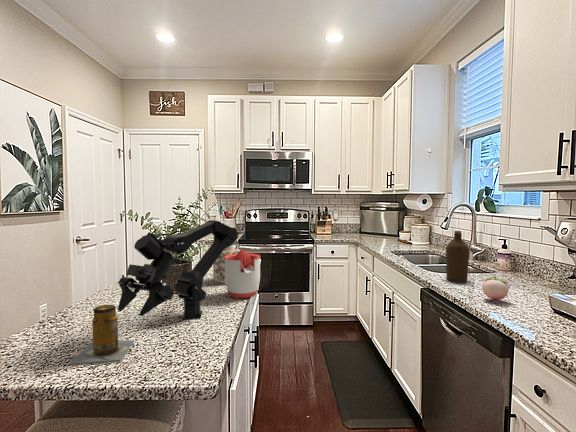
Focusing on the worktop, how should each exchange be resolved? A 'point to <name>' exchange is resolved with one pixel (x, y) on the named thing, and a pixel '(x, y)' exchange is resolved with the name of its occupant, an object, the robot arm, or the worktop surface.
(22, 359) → the worktop surface
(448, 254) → the olive oil
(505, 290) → the decorative fruit
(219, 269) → the decorative jar
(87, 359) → the mat
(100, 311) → the condiment
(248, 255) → the citrus juicer
